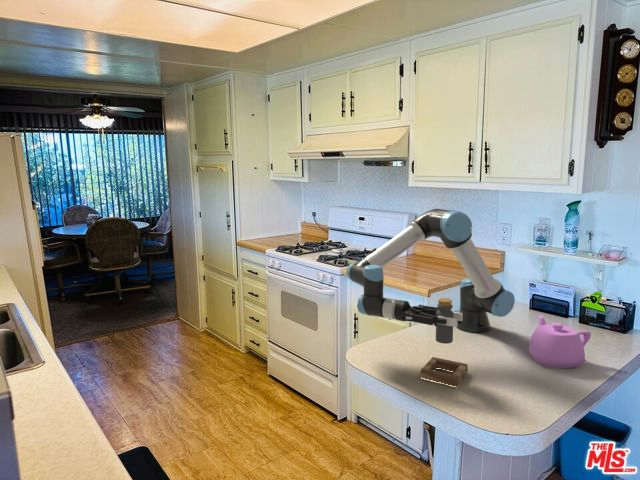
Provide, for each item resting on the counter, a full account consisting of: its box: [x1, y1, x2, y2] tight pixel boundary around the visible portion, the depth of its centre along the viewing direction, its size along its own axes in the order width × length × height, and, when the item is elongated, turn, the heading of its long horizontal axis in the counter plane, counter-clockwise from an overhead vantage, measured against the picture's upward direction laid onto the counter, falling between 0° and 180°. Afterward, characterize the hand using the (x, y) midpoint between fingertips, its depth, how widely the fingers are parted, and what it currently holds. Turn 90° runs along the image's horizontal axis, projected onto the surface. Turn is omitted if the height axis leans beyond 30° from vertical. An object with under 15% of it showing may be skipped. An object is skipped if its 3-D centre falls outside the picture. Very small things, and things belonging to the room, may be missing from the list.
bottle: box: [435, 297, 454, 345], centre depth 156 cm, size 6×6×15 cm
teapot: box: [528, 314, 592, 369], centre depth 170 cm, size 23×21×15 cm
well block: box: [419, 356, 469, 387], centre depth 159 cm, size 13×13×4 cm
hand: (459, 320), depth 153 cm, fingers closed on bottle, 6 cm apart
